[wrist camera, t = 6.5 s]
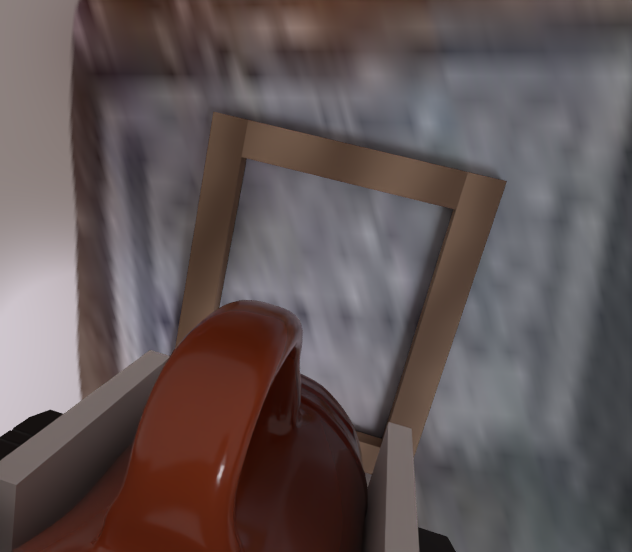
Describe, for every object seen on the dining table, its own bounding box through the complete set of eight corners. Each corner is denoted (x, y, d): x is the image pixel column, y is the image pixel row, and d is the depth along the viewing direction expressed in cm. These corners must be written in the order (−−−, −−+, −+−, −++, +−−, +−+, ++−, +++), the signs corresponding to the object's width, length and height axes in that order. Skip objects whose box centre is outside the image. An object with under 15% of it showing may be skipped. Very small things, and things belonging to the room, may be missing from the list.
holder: (502, 180, 24) (506, 181, 24) (404, 474, 29) (404, 484, 28) (220, 113, 26) (213, 111, 25) (171, 403, 31) (165, 411, 30)
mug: (352, 576, 18) (298, 1099, 8) (142, 502, 18) (-148, 885, 9) (452, 284, 14) (577, 531, 5) (194, 211, 15) (-169, 288, 5)
